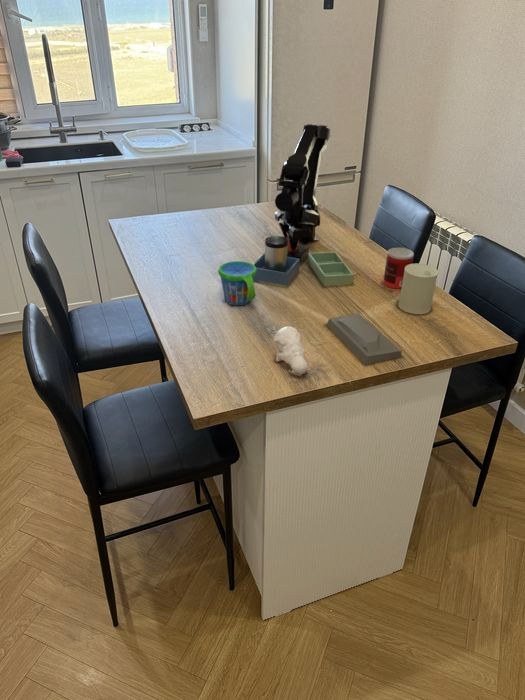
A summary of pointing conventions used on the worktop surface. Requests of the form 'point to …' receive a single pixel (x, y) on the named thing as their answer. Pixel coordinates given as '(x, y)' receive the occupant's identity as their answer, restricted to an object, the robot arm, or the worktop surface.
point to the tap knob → (289, 246)
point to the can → (417, 288)
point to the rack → (330, 268)
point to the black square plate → (299, 253)
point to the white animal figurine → (291, 349)
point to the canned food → (396, 267)
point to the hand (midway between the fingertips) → (291, 248)
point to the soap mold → (363, 339)
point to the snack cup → (238, 282)
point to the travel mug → (276, 253)
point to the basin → (276, 276)
